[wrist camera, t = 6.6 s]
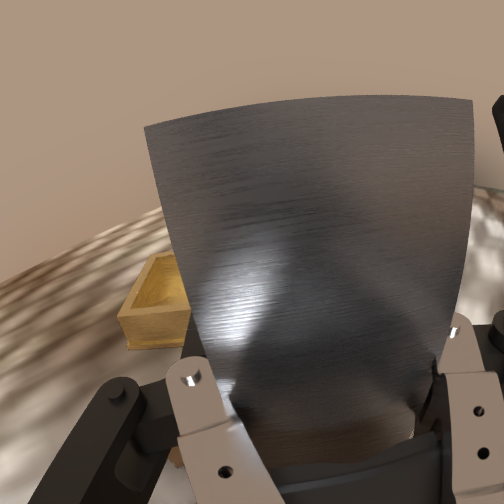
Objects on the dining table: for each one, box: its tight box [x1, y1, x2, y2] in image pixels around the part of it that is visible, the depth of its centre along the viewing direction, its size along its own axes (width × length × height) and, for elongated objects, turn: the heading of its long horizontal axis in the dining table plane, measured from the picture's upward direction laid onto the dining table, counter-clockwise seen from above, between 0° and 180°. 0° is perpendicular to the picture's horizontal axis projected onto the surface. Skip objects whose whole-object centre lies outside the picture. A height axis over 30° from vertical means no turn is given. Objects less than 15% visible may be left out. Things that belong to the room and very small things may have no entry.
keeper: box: [117, 251, 191, 350], centre depth 24 cm, size 10×10×3 cm
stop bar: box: [144, 95, 474, 479], centre depth 9 cm, size 5×5×14 cm
